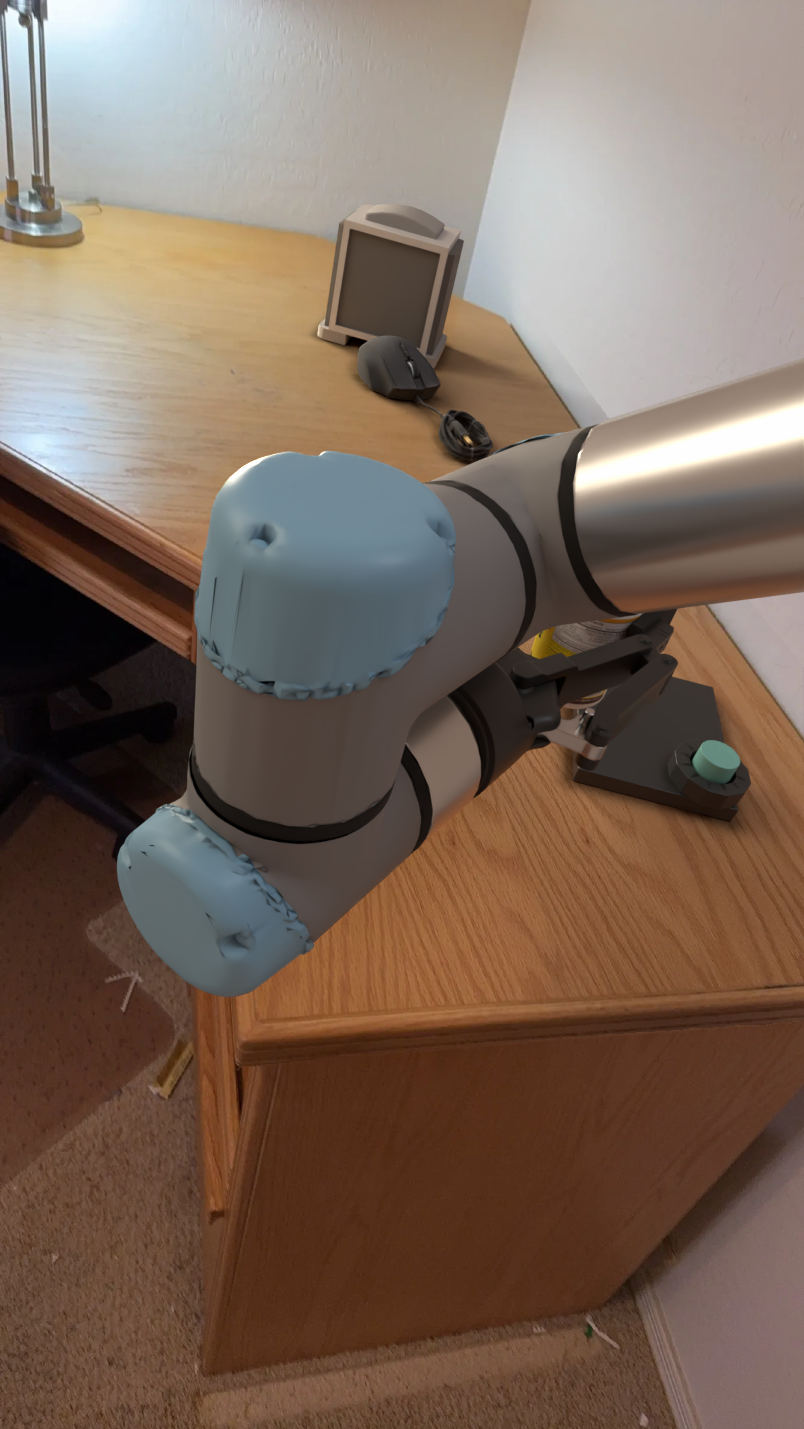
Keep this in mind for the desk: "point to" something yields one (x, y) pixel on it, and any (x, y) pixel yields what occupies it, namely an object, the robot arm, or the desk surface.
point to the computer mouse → (419, 391)
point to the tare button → (716, 761)
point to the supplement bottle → (581, 644)
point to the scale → (668, 754)
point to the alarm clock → (392, 278)
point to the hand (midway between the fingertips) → (629, 584)
